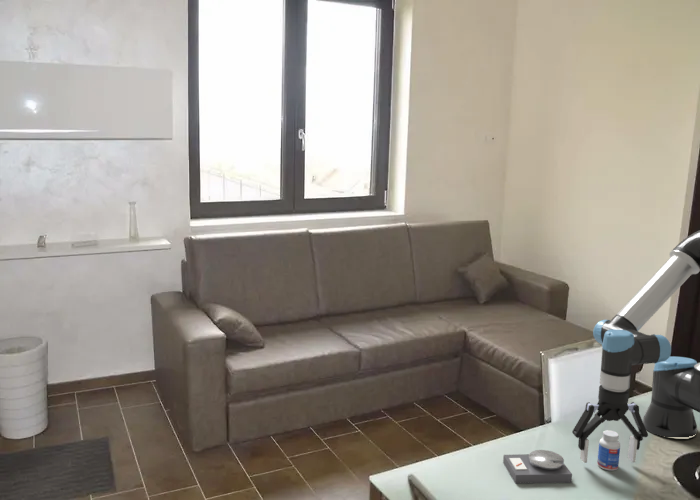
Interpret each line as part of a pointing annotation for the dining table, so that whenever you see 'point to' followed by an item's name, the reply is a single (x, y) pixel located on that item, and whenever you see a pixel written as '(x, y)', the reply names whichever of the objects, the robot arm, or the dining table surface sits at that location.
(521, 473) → the scale base
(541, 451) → the pan
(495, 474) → the dining table surface
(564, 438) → the dining table surface
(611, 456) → the pill bottle
